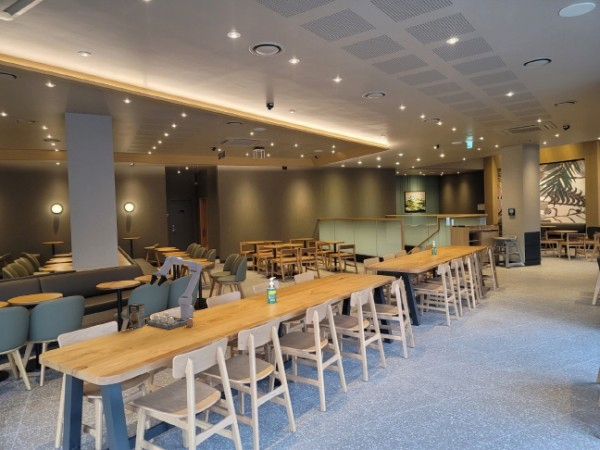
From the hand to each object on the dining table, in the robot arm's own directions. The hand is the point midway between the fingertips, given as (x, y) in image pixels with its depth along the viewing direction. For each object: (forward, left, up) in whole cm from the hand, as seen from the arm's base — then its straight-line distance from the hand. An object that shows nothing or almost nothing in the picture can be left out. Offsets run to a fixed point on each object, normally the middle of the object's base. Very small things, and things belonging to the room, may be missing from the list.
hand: (154, 284), depth 296 cm
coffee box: (+6, -14, -31) cm, 34 cm away
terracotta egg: (-14, +20, -30) cm, 39 cm away
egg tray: (-10, +1, -30) cm, 32 cm away
